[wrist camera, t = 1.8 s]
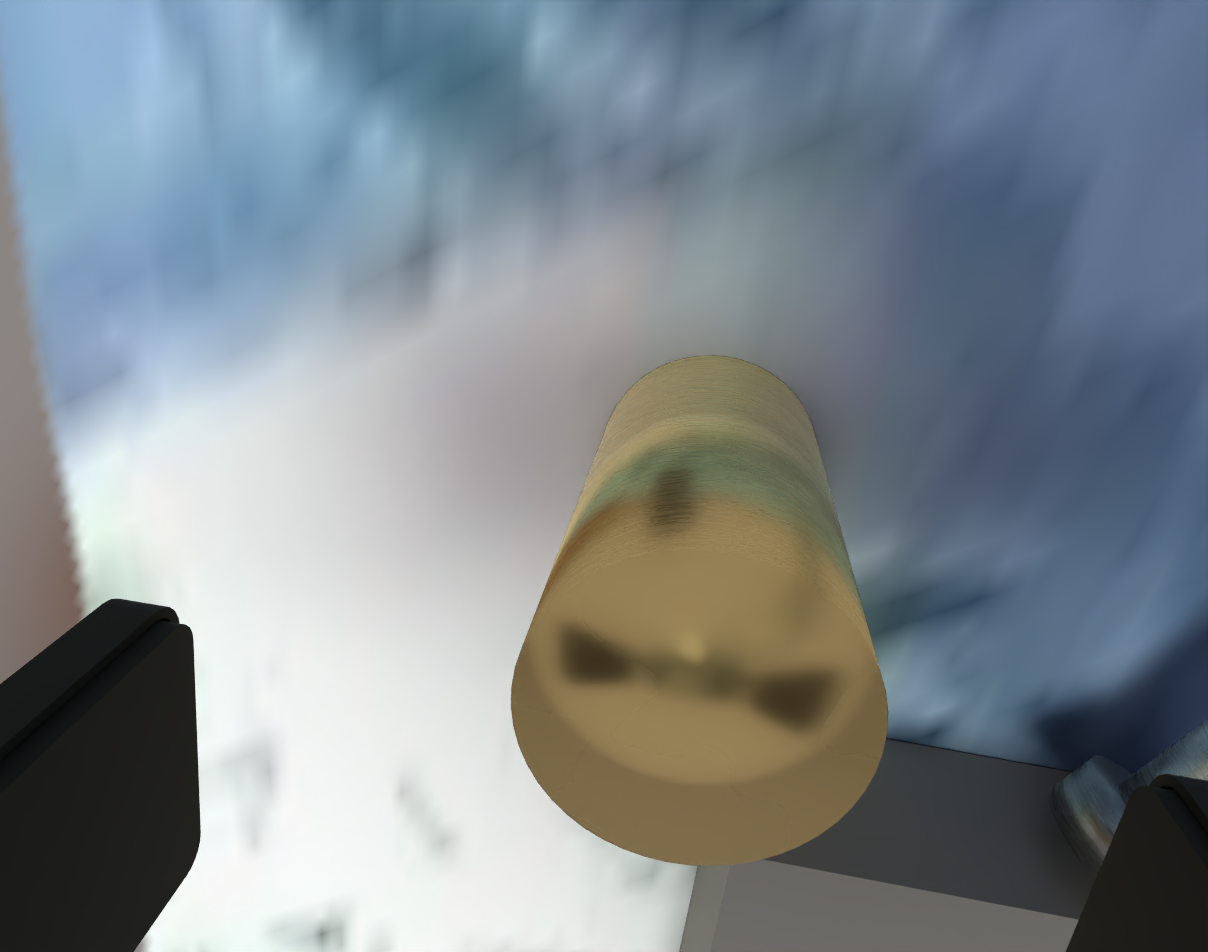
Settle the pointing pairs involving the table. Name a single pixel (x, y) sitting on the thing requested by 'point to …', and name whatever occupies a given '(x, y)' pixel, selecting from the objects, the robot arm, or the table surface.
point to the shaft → (1116, 794)
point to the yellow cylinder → (703, 631)
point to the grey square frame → (909, 869)
